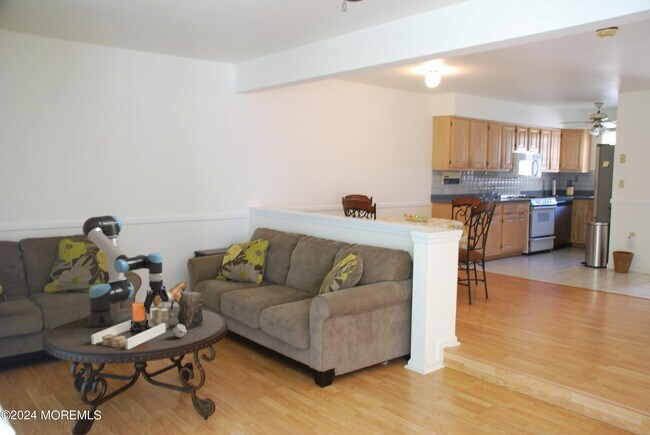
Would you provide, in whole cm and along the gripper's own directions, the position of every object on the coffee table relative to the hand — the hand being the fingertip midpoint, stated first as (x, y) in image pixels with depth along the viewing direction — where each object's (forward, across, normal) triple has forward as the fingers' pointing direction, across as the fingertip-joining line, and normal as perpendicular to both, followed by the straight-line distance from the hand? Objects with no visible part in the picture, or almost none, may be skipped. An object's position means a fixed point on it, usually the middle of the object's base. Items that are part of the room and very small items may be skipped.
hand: (157, 315), depth 316 cm
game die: (+7, -12, -24) cm, 28 cm away
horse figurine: (+7, +19, +10) cm, 22 cm away
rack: (+7, -22, +2) cm, 23 cm away
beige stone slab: (+7, 0, 0) cm, 7 cm away
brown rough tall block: (+7, +7, -17) cm, 20 cm away
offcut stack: (+7, -33, +2) cm, 34 cm away
